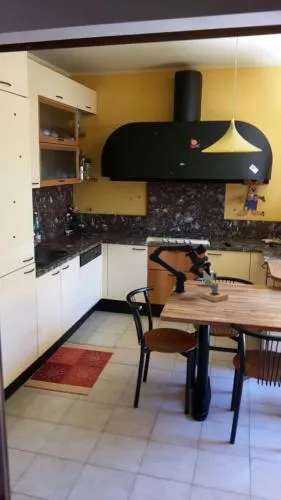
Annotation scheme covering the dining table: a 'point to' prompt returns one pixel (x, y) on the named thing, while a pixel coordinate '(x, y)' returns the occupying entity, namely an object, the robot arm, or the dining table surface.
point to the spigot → (214, 289)
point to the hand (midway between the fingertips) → (206, 276)
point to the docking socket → (214, 296)
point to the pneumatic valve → (208, 277)
